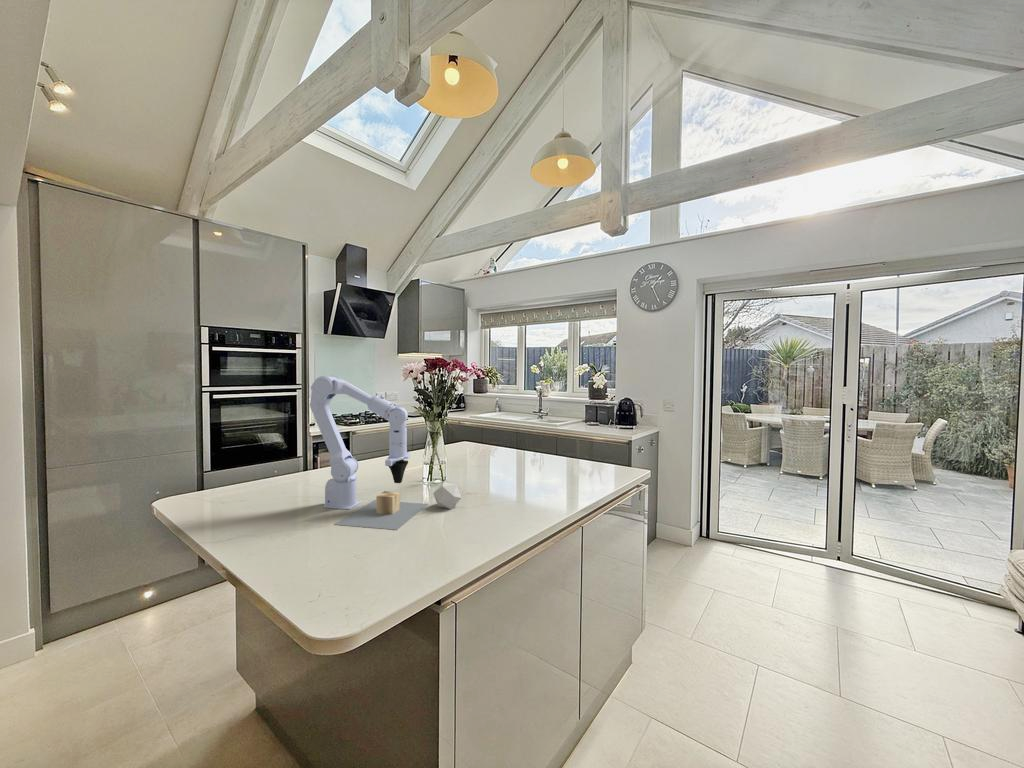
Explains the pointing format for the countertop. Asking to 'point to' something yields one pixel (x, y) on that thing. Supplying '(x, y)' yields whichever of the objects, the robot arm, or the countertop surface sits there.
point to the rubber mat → (381, 516)
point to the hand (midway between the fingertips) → (398, 482)
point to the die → (447, 495)
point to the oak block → (388, 502)
